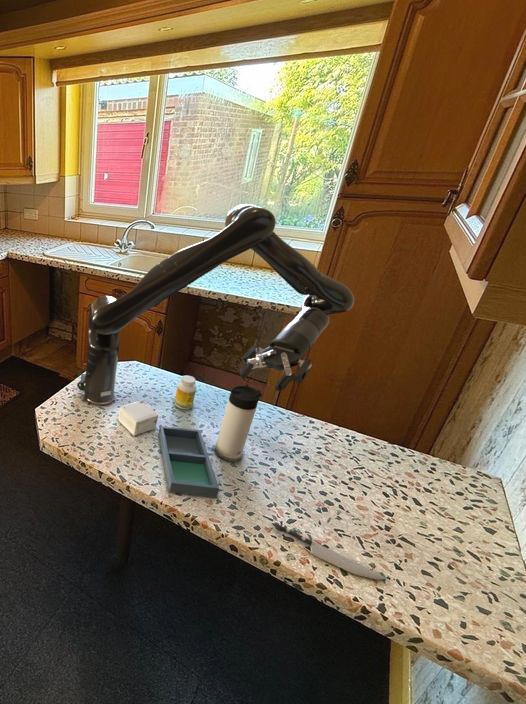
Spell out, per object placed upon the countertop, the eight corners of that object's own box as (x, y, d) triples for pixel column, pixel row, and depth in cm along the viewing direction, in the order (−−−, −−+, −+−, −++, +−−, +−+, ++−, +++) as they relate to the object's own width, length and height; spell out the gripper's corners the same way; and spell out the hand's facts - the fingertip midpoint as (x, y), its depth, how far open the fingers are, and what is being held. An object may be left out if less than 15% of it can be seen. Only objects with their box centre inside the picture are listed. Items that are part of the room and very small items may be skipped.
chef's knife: (386, 593, 73) (386, 579, 75) (389, 589, 73) (389, 576, 75) (271, 535, 83) (273, 524, 85) (272, 531, 83) (275, 521, 85)
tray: (169, 492, 93) (171, 482, 92) (158, 434, 111) (159, 425, 110) (216, 497, 92) (219, 488, 91) (197, 438, 110) (199, 429, 109)
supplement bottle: (179, 397, 127) (184, 372, 123) (195, 404, 124) (201, 378, 119) (170, 404, 124) (176, 378, 119) (187, 412, 120) (193, 385, 116)
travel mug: (244, 463, 102) (265, 400, 92) (217, 459, 103) (235, 397, 93) (238, 446, 107) (257, 385, 98) (212, 443, 108) (229, 382, 99)
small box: (134, 436, 110) (136, 422, 108) (117, 420, 117) (119, 406, 115) (156, 429, 113) (159, 414, 111) (139, 413, 120) (141, 399, 117)
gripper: (264, 322, 105) (228, 362, 100) (325, 336, 93) (288, 382, 89) (268, 343, 109) (233, 382, 104) (327, 359, 97) (291, 403, 93)
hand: (258, 382), depth 97 cm, fingers open, 8 cm apart
